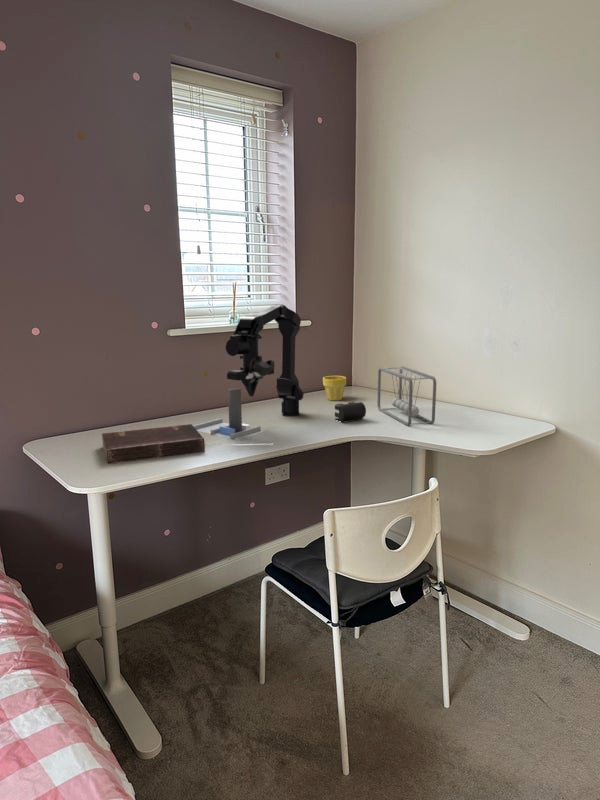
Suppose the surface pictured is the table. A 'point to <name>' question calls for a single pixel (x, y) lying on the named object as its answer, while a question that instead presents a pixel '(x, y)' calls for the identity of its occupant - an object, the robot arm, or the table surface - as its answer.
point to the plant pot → (334, 387)
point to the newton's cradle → (403, 404)
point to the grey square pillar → (235, 409)
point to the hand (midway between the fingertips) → (251, 396)
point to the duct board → (225, 429)
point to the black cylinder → (350, 411)
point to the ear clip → (245, 426)
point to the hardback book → (152, 443)
